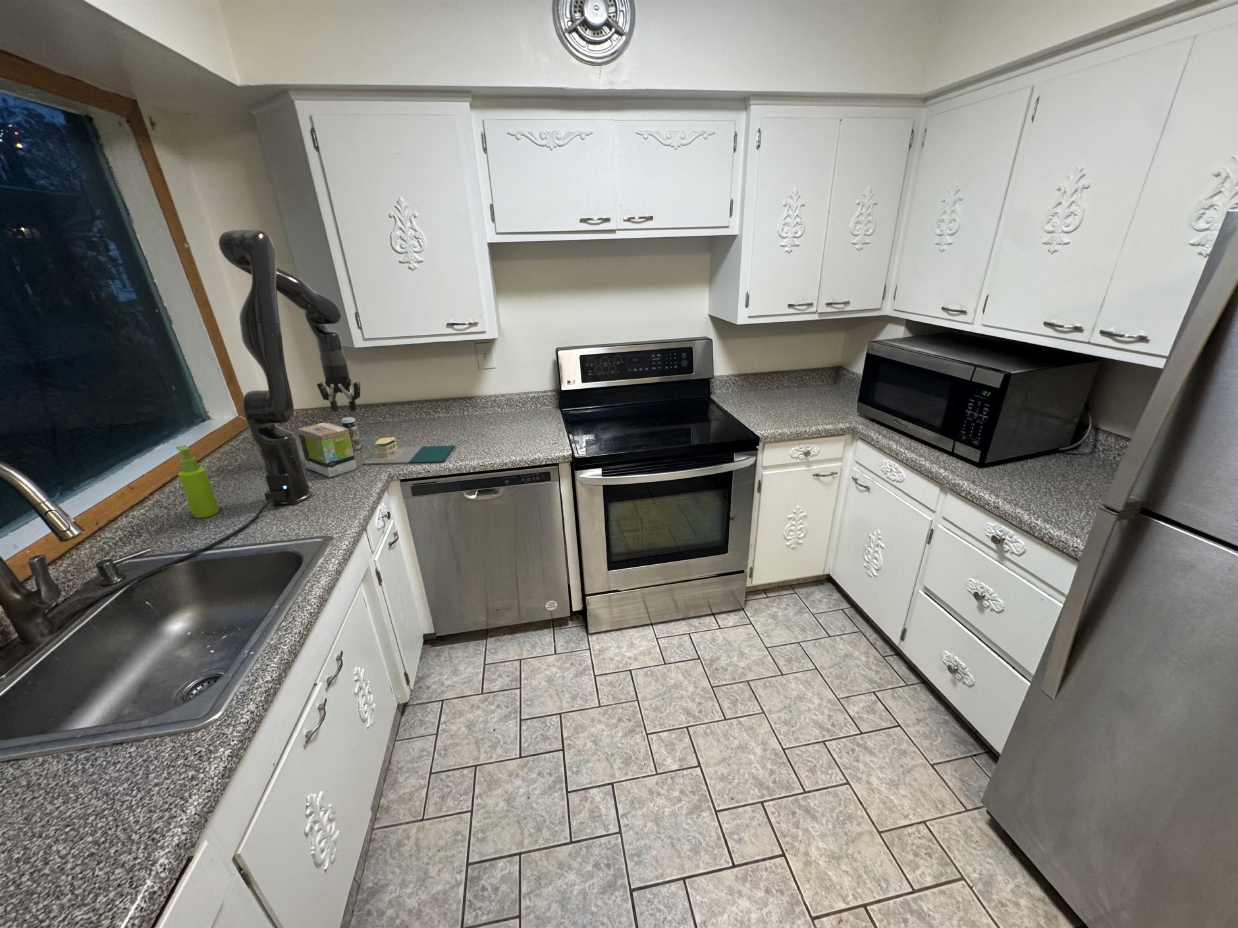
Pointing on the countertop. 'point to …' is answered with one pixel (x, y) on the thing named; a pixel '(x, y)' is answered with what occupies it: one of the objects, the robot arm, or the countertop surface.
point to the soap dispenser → (196, 486)
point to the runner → (415, 455)
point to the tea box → (327, 449)
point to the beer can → (352, 431)
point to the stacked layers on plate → (386, 449)
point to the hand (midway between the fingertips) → (344, 411)
